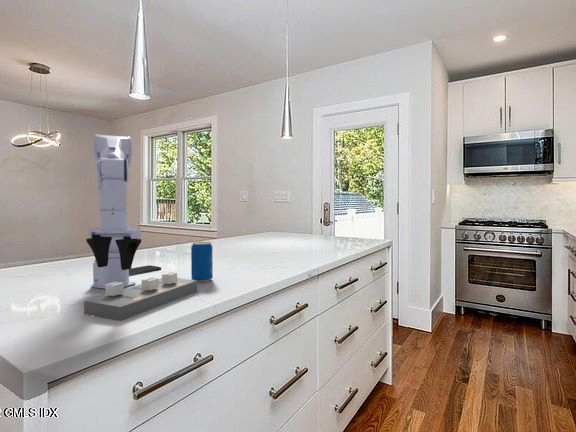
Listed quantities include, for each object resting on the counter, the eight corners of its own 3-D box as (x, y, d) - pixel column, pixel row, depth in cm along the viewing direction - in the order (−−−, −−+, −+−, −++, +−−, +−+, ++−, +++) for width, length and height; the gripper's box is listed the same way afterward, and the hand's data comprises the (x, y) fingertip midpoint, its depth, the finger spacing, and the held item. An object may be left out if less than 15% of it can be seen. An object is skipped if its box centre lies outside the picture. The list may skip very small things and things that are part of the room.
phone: (162, 267, 126) (123, 274, 114) (162, 270, 126) (123, 278, 114) (149, 265, 131) (110, 271, 118) (149, 268, 131) (110, 275, 118)
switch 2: (141, 289, 86) (141, 279, 85) (150, 286, 88) (150, 276, 88) (149, 290, 85) (149, 280, 84) (158, 287, 87) (158, 277, 87)
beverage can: (207, 283, 106) (207, 244, 105) (187, 282, 107) (187, 243, 106) (215, 278, 112) (215, 241, 111) (197, 277, 113) (197, 241, 113)
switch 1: (105, 294, 81) (105, 284, 80) (116, 291, 83) (116, 281, 83) (113, 296, 80) (113, 285, 80) (124, 292, 82) (123, 282, 82)
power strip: (84, 314, 77) (83, 300, 77) (177, 283, 106) (177, 273, 106) (120, 321, 73) (120, 306, 73) (208, 286, 102) (208, 276, 101)
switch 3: (162, 283, 92) (161, 273, 92) (169, 280, 95) (169, 271, 95) (169, 284, 91) (169, 274, 91) (177, 281, 94) (177, 272, 94)
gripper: (75, 210, 80) (76, 268, 80) (122, 211, 74) (123, 273, 75) (102, 209, 86) (103, 263, 87) (147, 210, 81) (148, 268, 81)
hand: (114, 268), depth 81 cm, fingers open, 7 cm apart
